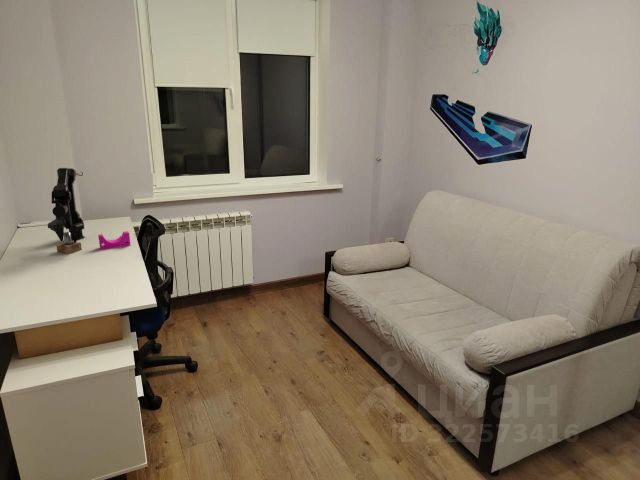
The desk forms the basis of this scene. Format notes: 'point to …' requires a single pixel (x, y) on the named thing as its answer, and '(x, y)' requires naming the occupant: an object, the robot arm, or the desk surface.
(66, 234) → the metal canister
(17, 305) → the desk surface
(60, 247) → the brown square frame
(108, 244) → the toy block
